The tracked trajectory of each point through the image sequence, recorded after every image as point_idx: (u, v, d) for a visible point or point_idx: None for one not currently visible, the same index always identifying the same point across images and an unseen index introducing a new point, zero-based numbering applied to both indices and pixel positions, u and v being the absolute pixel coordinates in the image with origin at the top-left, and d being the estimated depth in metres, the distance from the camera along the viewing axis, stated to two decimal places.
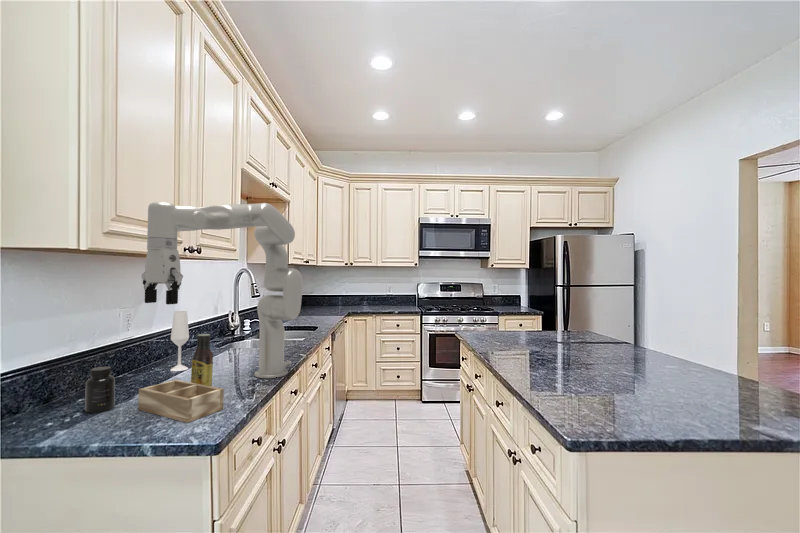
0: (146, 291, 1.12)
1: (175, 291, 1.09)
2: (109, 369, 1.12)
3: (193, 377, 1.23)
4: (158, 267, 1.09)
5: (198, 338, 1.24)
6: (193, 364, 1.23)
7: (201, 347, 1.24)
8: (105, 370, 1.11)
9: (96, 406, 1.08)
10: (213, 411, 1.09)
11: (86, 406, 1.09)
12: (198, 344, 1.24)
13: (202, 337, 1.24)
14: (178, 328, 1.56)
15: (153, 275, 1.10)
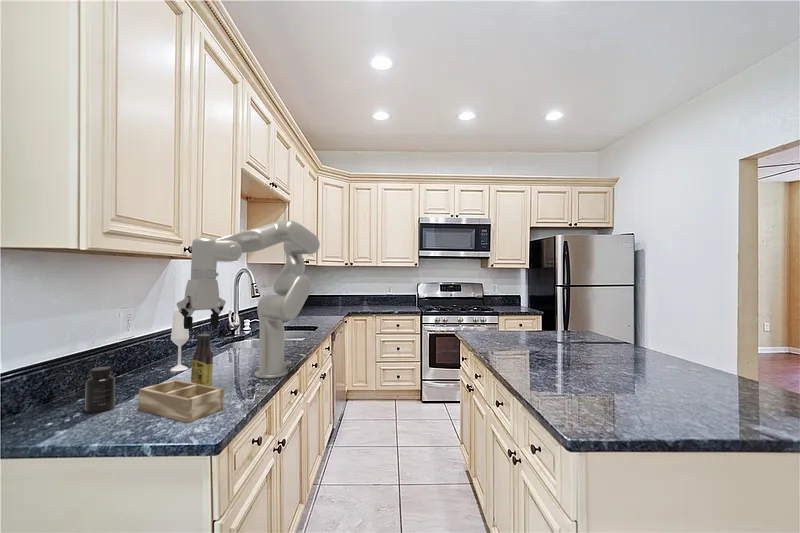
0: (192, 318, 1.21)
1: None
2: (109, 369, 1.12)
3: (193, 377, 1.23)
4: (213, 295, 1.27)
5: (198, 338, 1.24)
6: (193, 364, 1.23)
7: (201, 347, 1.24)
8: (105, 370, 1.11)
9: (96, 406, 1.08)
10: (213, 411, 1.09)
11: (86, 406, 1.09)
12: (198, 344, 1.24)
13: (202, 337, 1.24)
14: (178, 328, 1.56)
15: (207, 302, 1.25)
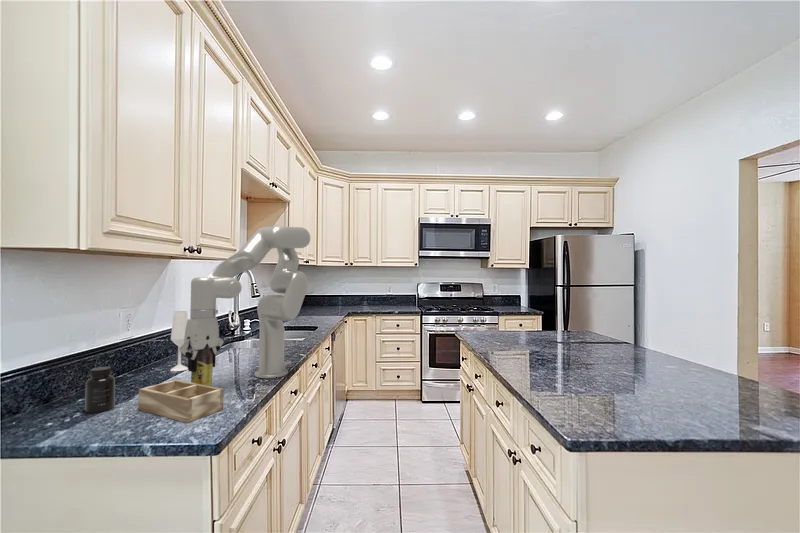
0: (196, 360, 1.23)
1: None
2: (109, 369, 1.12)
3: (193, 377, 1.23)
4: (213, 334, 1.27)
5: None
6: None
7: None
8: (105, 370, 1.11)
9: (96, 406, 1.08)
10: (213, 411, 1.09)
11: (86, 406, 1.09)
12: None
13: None
14: (178, 328, 1.56)
15: (207, 341, 1.25)
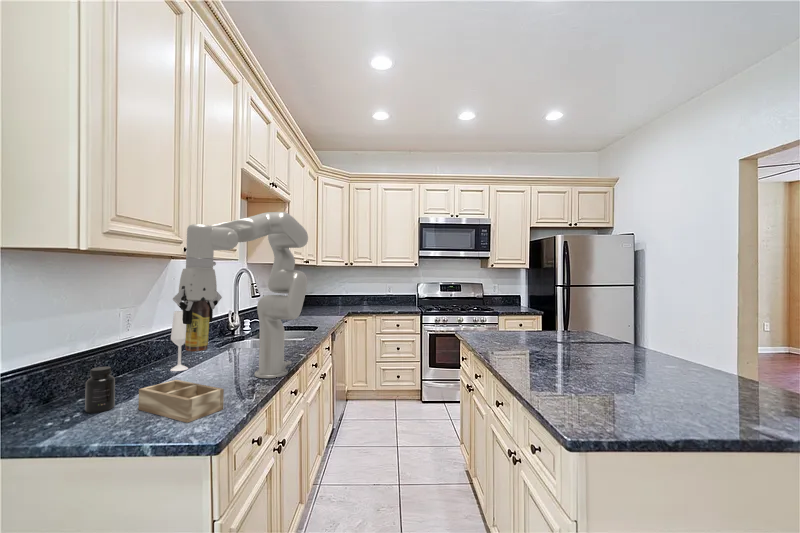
0: (191, 312, 1.14)
1: None
2: (109, 369, 1.12)
3: (188, 330, 1.14)
4: (210, 286, 1.18)
5: None
6: None
7: None
8: (105, 370, 1.11)
9: (96, 406, 1.08)
10: (213, 411, 1.09)
11: (86, 406, 1.09)
12: None
13: None
14: (178, 328, 1.56)
15: (204, 293, 1.17)
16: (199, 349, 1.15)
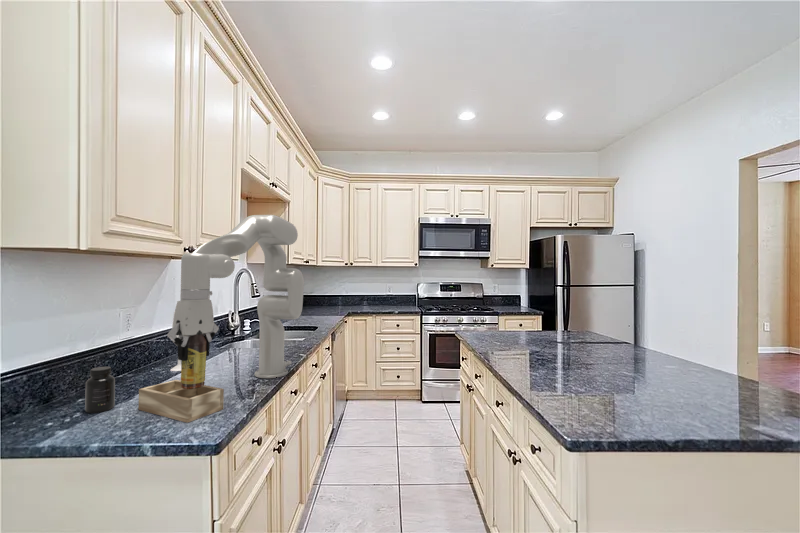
0: (187, 348, 1.07)
1: None
2: (109, 369, 1.12)
3: (183, 367, 1.07)
4: (207, 318, 1.11)
5: None
6: None
7: None
8: (105, 370, 1.11)
9: (96, 406, 1.08)
10: (213, 411, 1.09)
11: (86, 406, 1.09)
12: None
13: None
14: None
15: (200, 326, 1.09)
16: (196, 386, 1.08)
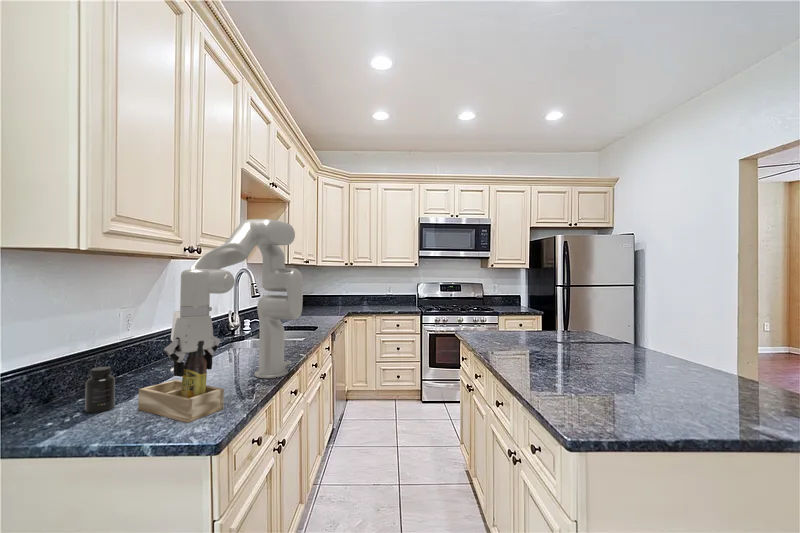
0: (183, 364, 1.06)
1: None
2: (109, 369, 1.12)
3: (184, 389, 1.07)
4: (206, 334, 1.11)
5: None
6: (184, 374, 1.08)
7: (193, 354, 1.08)
8: (105, 370, 1.11)
9: (96, 406, 1.08)
10: (213, 411, 1.09)
11: (86, 406, 1.09)
12: None
13: None
14: None
15: None
16: None
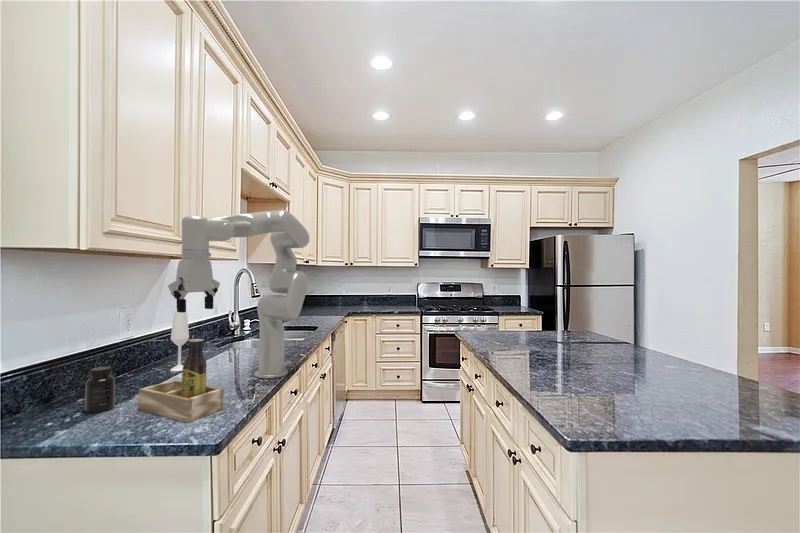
0: (185, 301, 1.15)
1: None
2: (109, 369, 1.12)
3: (184, 389, 1.07)
4: (206, 276, 1.21)
5: (189, 344, 1.08)
6: (184, 374, 1.08)
7: (193, 354, 1.08)
8: (105, 370, 1.11)
9: (96, 406, 1.08)
10: (213, 411, 1.09)
11: (86, 406, 1.09)
12: (189, 351, 1.09)
13: (194, 343, 1.08)
14: (178, 328, 1.56)
15: (201, 284, 1.19)
16: None
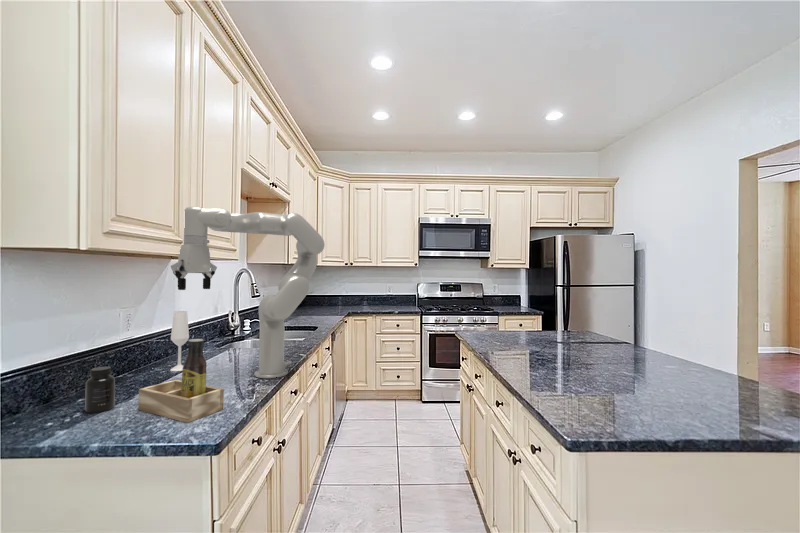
0: (185, 280, 1.32)
1: None
2: (109, 369, 1.12)
3: (184, 389, 1.07)
4: (205, 260, 1.38)
5: (189, 344, 1.08)
6: (184, 374, 1.08)
7: (193, 354, 1.08)
8: (105, 370, 1.11)
9: (96, 406, 1.08)
10: (213, 411, 1.09)
11: (86, 406, 1.09)
12: (189, 351, 1.09)
13: (194, 343, 1.08)
14: (178, 328, 1.56)
15: (199, 266, 1.36)
16: None
